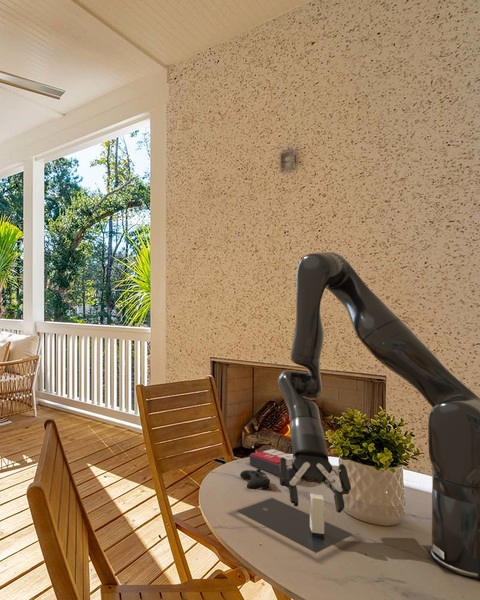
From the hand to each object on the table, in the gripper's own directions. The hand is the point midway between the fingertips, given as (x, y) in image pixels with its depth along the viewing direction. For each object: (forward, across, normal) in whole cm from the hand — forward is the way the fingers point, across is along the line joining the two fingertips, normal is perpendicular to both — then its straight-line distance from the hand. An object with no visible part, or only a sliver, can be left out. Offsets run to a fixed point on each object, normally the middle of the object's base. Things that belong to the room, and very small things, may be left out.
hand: (317, 508), depth 95 cm
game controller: (-13, -11, +23) cm, 29 cm away
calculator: (-23, -2, +33) cm, 41 cm away
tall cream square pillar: (+4, 0, +4) cm, 6 cm away
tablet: (+2, -4, +8) cm, 9 cm away
